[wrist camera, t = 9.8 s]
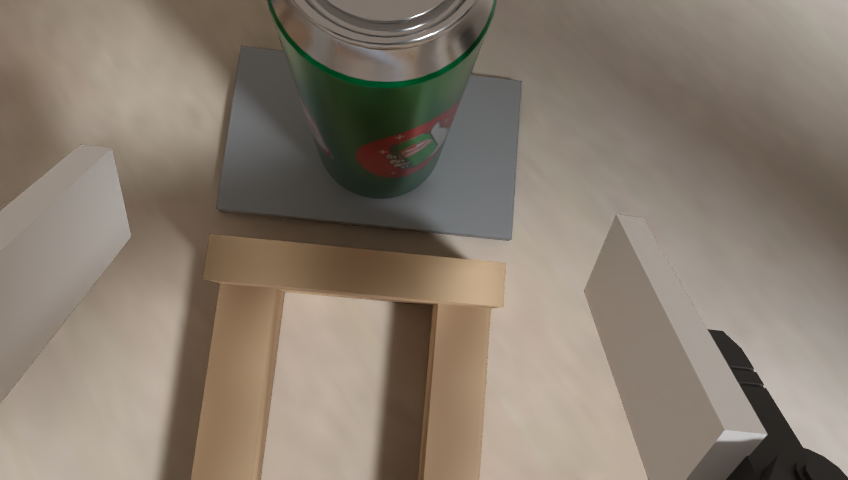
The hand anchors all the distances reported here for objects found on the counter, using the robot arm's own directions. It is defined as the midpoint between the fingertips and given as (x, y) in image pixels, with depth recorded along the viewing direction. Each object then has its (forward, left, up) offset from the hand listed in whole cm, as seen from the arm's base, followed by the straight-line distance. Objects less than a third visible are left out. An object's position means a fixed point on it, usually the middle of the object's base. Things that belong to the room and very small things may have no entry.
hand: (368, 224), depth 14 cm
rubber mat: (0, -5, -8) cm, 9 cm away
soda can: (0, -5, -7) cm, 9 cm away
